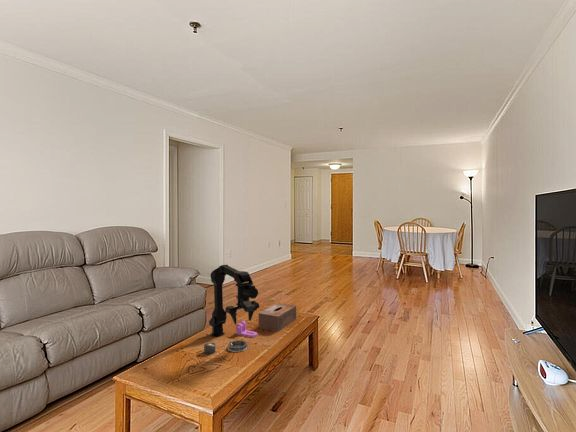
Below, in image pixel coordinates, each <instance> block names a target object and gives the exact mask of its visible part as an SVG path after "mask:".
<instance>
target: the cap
mask: <svg viewBox="0 0 576 432" xmlns="http://www.w3.org/2000/svg"><path fill="white" fill-rule="evenodd" d="M215 353H216V343H215V342H207V343H204V344H203V354H204V355H208V356H209V355H214V354H215Z"/></svg>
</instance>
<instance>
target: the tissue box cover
mask: <svg viewBox="0 0 576 432" xmlns="http://www.w3.org/2000/svg"><path fill="white" fill-rule="evenodd" d="M296 320H297V305H294V304H290V303H289V304H288V303H282V302H281V303H280V302H276V303H275V304H273V305H271V306H269V307H267V308H265V309H264V310H262V311H260V312H258V328H259V329H261V330H265V331H272V332H276V331H277V332H276V333H278V332H280V331H281V330H283V329H284V327H285V328H286V327H288V326H289V325H290V324H291V323H294V322H295V321H296Z"/></svg>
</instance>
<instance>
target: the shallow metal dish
mask: <svg viewBox="0 0 576 432" xmlns="http://www.w3.org/2000/svg"><path fill="white" fill-rule="evenodd" d="M248 348H249V345H248V342H247V341H246V340H244V339H243V340H241V339H237V340H232V341H230V342H229V343H228V346H227V350H228V351H230V352H233V353H239V352H244V351H246V350H247V349H248Z"/></svg>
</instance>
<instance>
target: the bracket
mask: <svg viewBox="0 0 576 432" xmlns="http://www.w3.org/2000/svg"><path fill="white" fill-rule="evenodd" d="M235 334H236V335H237V336H242V337H247V338H256V337H258V332H256V331H252V330H247V323H246V321H244V320H242V321H240V322H239V323H236V325H235Z"/></svg>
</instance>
